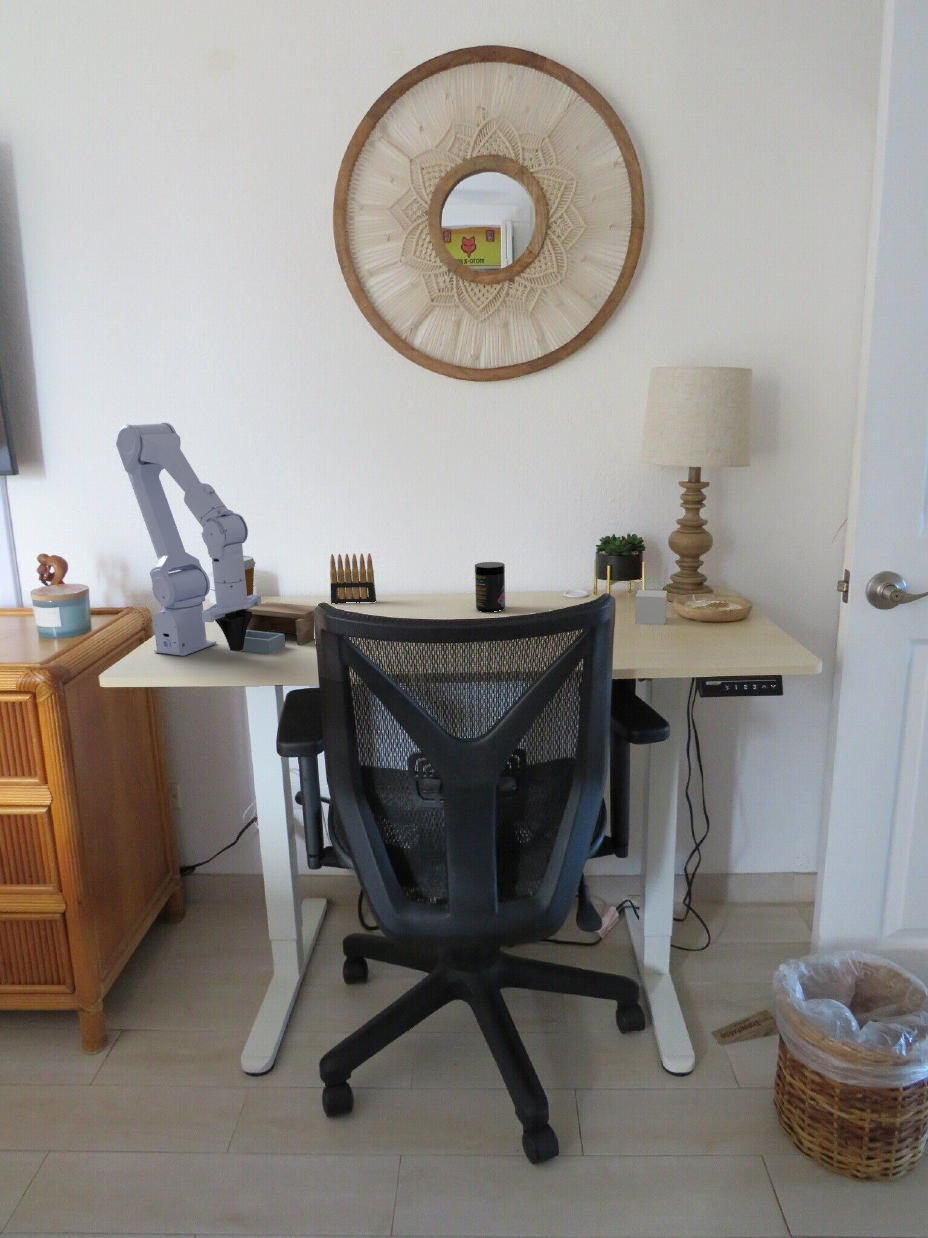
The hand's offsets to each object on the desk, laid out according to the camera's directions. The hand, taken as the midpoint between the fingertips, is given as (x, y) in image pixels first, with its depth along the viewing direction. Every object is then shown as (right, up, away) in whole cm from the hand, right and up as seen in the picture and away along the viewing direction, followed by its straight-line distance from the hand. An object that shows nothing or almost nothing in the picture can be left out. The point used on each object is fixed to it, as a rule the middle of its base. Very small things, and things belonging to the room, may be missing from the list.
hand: (236, 650), depth 164 cm
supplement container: (+49, +8, +31) cm, 59 cm away
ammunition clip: (+17, +10, +42) cm, 46 cm away
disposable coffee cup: (-10, +8, +39) cm, 41 cm away
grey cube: (+83, +5, +18) cm, 85 cm away
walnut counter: (+6, +2, +13) cm, 15 cm away
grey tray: (+3, 0, +6) cm, 7 cm away
